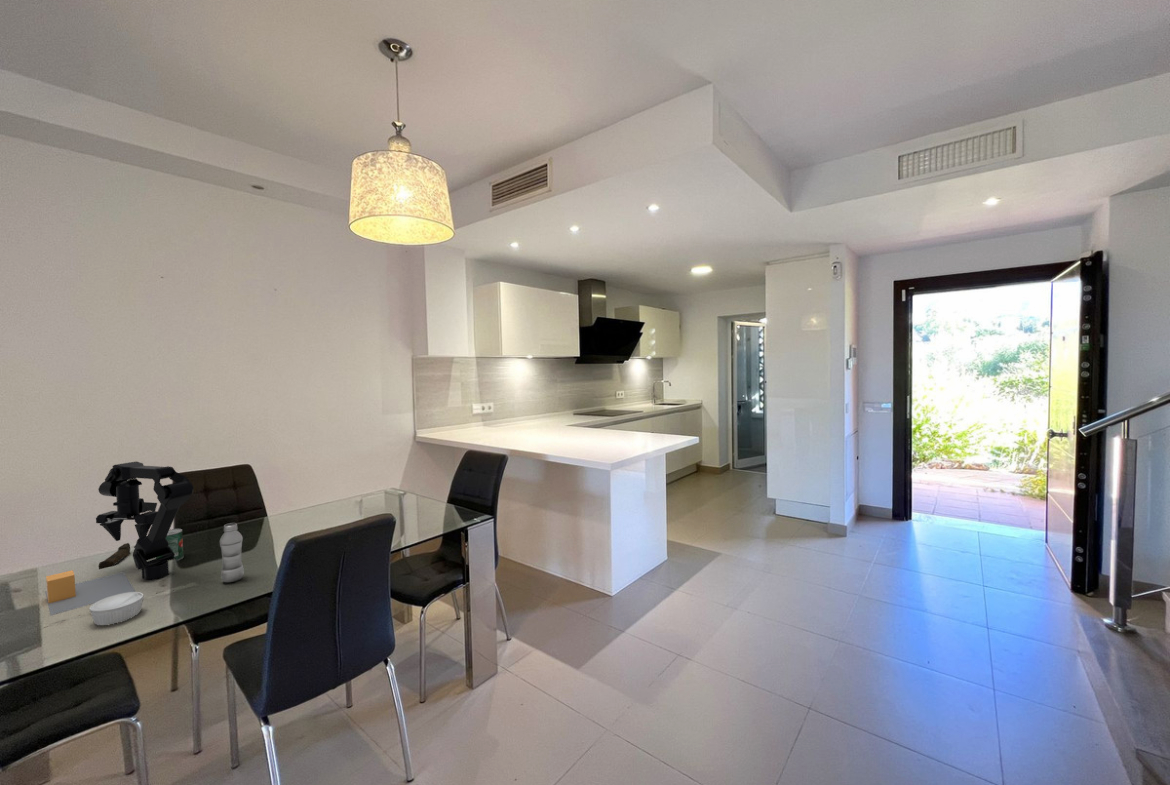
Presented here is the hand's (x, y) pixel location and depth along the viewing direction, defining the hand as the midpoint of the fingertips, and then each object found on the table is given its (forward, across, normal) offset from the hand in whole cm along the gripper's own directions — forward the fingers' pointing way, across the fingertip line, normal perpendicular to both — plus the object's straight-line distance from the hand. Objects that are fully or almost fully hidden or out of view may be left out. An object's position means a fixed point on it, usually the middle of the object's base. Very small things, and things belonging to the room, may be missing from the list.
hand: (130, 540), depth 160 cm
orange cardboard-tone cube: (+12, +4, +18) cm, 22 cm away
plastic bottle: (+13, -39, +2) cm, 41 cm away
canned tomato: (+13, 0, -14) cm, 19 cm away
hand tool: (+14, +20, -12) cm, 27 cm away
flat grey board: (+13, -1, +14) cm, 19 cm away
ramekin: (+13, -24, +26) cm, 38 cm away
